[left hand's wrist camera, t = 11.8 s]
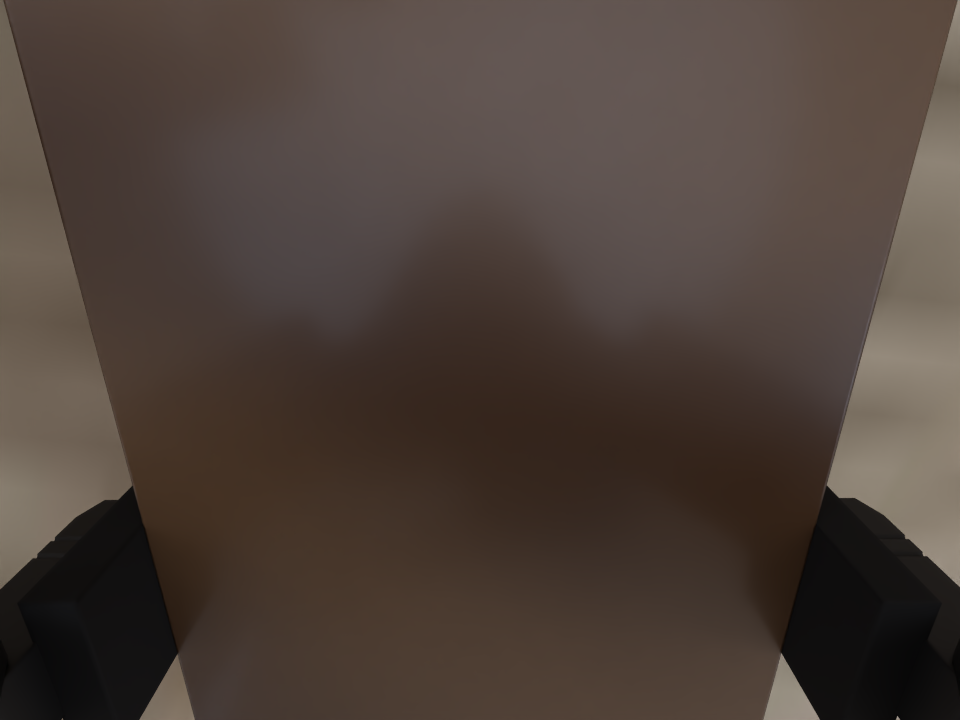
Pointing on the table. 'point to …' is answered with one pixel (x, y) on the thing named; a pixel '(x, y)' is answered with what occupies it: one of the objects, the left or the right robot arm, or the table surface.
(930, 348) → the table surface
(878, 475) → the table surface
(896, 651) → the left robot arm
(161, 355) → the long brown box
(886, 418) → the table surface
